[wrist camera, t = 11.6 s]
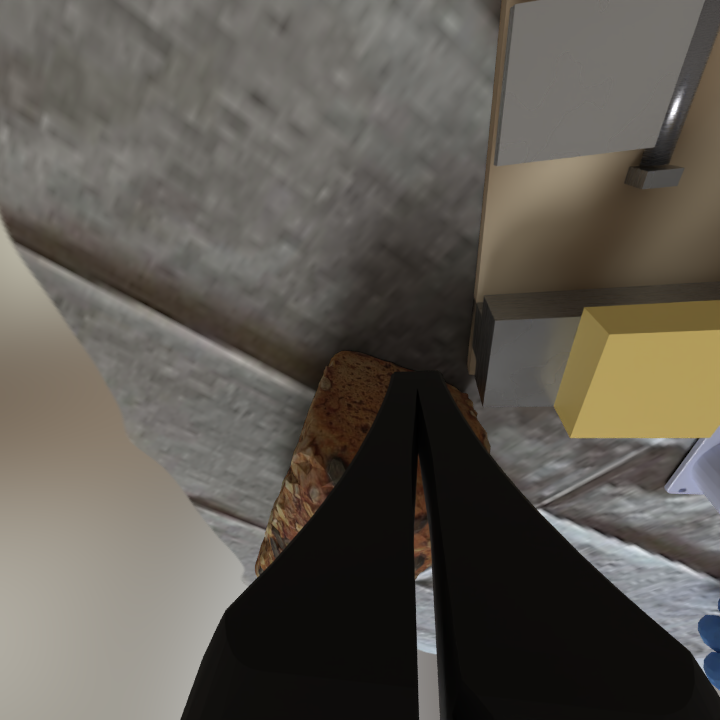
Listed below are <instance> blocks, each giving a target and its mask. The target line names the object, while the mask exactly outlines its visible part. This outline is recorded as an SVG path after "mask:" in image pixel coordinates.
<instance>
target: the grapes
mask: <svg viewBox="0 0 720 720" xmlns="http://www.w3.org/2000/svg"><path fill="white" fill-rule="evenodd" d="M718 609H719V611H720V599H719V601H718ZM698 631H699V633H700V636H701V637H702V639H703V641H704V643H705V644H706V645H708V646H709V647H710V648H712V649H713V650H714V651H716V652H711V653H710V654H708V655H707V656H706V658H705V659H704V667H703V668H704V670H705V673H706V675H707V677H708V679H709V681H710V683H711V684H712V685H714V686H715V687H716V688H717V689H719V690H720V617H719V616H716V615H705V616H704V617H703V618H701V619H700V621H699V622H698Z"/></svg>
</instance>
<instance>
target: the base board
mask: <svg viewBox="0 0 720 720" xmlns="http://www.w3.org/2000/svg"><path fill="white" fill-rule="evenodd" d="M531 1H537V0H502V3H501V14H500V25H499V35H498V46H497V56H496V67H495V77H494V88H493V98H492V109H491V120H490V130H489V141H488V151H487V162H486V172H485V183H484V194H483V204H482V215H481V225H480V236H479V246H478V257H477V267H476V278H475V289H474V298H475V300H476V302H475V303H477V302H483V298H484V295H496V294H513V293H530V292H547V291H564V290H581V289H598V288H615V287H632V286H649V285H666V284H683V283H700V282H717V281H720V30H719V33H718V35H717V38H716V41H715V43H714V46H713V49H712V51H711V54H710V57H709V59H708V62H707V65H706V67H705V70H704V73H703V75H702V78H701V81H700V83H699V86H698V89H697V91H696V94H695V97H694V99H693V102H692V105H691V107H690V110H689V113H688V115H687V118H686V121H685V123H684V126H683V129H682V131H681V134H680V136H679V139H678V142H677V144H676V147H675V150H674V152H673V155H672V158H671V160H670V163H669V165H674V166H679V167H683V168H684V171H683V173H682V176H681V178H680V181H679V183H678V186H672V187H662V188H651V189H639V188H636V187H633V186H630V185H627V184H624V181H625V178H626V175H627V172H628V169H629V167H632V166H641V165H640V162H641V159H642V156H643V153H644V150H645V148H644V149H636V150H628V151H620V152H611V153H603V154H595V155H587V156H578V157H570V158H562V159H554V160H545V161H537V162H529V163H521V164H512V165H504V166H495V165H494V156H495V146H496V137H497V128H498V118H499V109H500V99H501V90H502V80H503V71H504V62H505V52H506V43H507V33H508V24H509V14H510V8H511V7H512V6H514V5H515V4H519V3H525V2H531ZM475 306H476V304H475ZM474 310H475V312H476V307H475V309H474ZM475 312H474V313H475ZM474 313H473V321H472V322H473V323H472V324H473V325H472V328H471V330H472V331H470V333H471V334H470V335H471V336H470V340H471V341H469V352H468V363H467V368H468V372H469V375H475V369H476V358H475V355H474V351H473V348H472V344H471V343H472V342H473V332H474V322H475V315H474Z"/></svg>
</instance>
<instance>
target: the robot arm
mask: <svg viewBox="0 0 720 720" xmlns="http://www.w3.org/2000/svg"><path fill="white" fill-rule="evenodd" d="M418 455H419V462H420V469H421V476H422V483H423V490H424V497H425V504H426V511H427V518H428V525H429V533H430V543H431V558H432V576H433V593H434V611H435V629H436V648H437V667H438V686H439V706H440V720H720V697H719V695H718V693H717V692H716V690H715V689H714V687H713V686H712V684H711V683H710V681H709V680H708V678H707V676H706V675H705V673H704V672H703V670H702V669H701V667H700V666H699V664H698V663H697V661H696V660H695V658H694V657H693V655H692V653H691V652H690V651H689V650H688V649H687V648H685V647H684V646H683V645H682V644H681V643H680V642H678V641H677V640H676V639H675V638H674V637H673V636H671V635H670V634H669V633H668V632H667V631H666V630H664V629H663V628H662V627H661V626H660V625H659V624H657V623H656V622H655V621H654V620H653V619H652V618H650V617H649V616H648V615H647V614H646V613H645V612H644V611H642V610H641V609H640V608H639V607H638V606H637V605H636V604H635V603H633V602H632V601H631V600H630V599H629V598H628V597H627V596H626V595H624V594H623V593H622V592H621V591H620V590H619V589H618V588H617V587H615V586H614V585H613V584H612V583H611V582H610V581H609V580H608V579H607V578H606V577H605V576H604V575H603V574H601V573H600V572H599V571H598V570H597V569H596V568H595V567H594V566H593V565H592V564H591V563H590V562H589V561H587V560H586V559H585V558H584V557H583V556H582V555H581V554H580V553H579V552H578V551H577V550H576V549H575V548H574V547H573V546H572V545H571V544H570V543H569V542H568V541H567V540H566V539H565V538H564V537H563V536H562V535H561V534H560V533H559V532H558V531H557V530H556V529H555V528H554V527H553V526H552V525H551V524H550V523H549V522H548V521H547V520H546V519H545V518H544V517H543V516H542V515H541V514H540V513H539V511H538V510H537V509H536V508H535V507H534V506H533V505H532V504H531V503H530V502H529V500H528V499H527V498H526V497H525V496H524V495H523V494H522V493H521V492H520V490H519V489H518V488H517V487H516V486H515V485H514V483H513V482H512V481H511V480H510V479H509V478H508V476H507V475H506V474H505V473H504V472H503V470H502V469H501V468H500V467H499V465H498V464H497V463H496V461H495V460H494V459H493V458H492V456H491V455H490V454H489V452H488V451H487V450H486V448H485V447H484V445H483V444H482V443H481V441H480V440H479V439H478V437H477V436H476V434H475V433H474V431H473V430H472V428H471V427H470V425H469V424H468V422H467V420H466V419H465V417H464V416H463V414H462V413H461V411H460V409H459V408H458V406H457V404H456V402H455V401H454V399H453V397H452V395H451V393H450V391H449V389H448V387H447V385H446V383H445V381H444V379H443V376H442V374H441V373H440V372H439V371H406V372H394V373H393V374H392V375H391V378H390V382H389V386H388V389H387V392H386V395H385V397H384V400H383V402H382V405H381V407H380V409H379V411H378V413H377V415H376V418H375V420H374V422H373V424H372V426H371V428H370V430H369V432H368V433H367V435H366V437H365V439H364V441H363V442H362V444H361V446H360V448H359V450H358V451H357V453H356V455H355V456H354V458H353V460H352V461H351V463H350V464H349V466H348V468H347V469H346V471H345V472H344V474H343V475H342V477H341V478H340V480H339V481H338V482H337V484H336V485H335V487H334V488H333V489H332V491H331V492H330V493H329V495H328V496H327V497H326V499H325V500H324V502H323V503H322V504H321V506H320V507H319V508H318V509H317V511H316V512H315V513H314V514H313V516H312V517H311V518H310V519H309V521H308V522H307V523H306V524H305V525H304V527H303V528H302V529H301V530H300V531H299V532H298V533H297V535H296V536H295V537H294V538H293V539H292V540H291V542H290V543H289V544H288V545H287V546H286V547H285V549H284V550H283V551H282V552H281V553H280V554H279V555H278V557H277V558H276V559H275V560H274V561H273V562H272V563H271V564H270V565H269V566H268V567H267V568H266V569H265V570H264V571H263V572H262V573H261V574H260V575H259V576H258V578H257V579H256V580H255V581H254V582H253V583H252V584H251V585H250V586H249V587H248V588H247V589H246V590H245V591H244V592H243V593H242V594H241V595H240V596H239V597H238V598H237V599H236V600H235V601H234V602H233V603H232V604H231V605H230V606H229V607H228V608H227V610H226V611H225V613H224V615H223V616H222V619H221V620H220V623H219V624H218V626H217V629H216V631H215V633H214V635H213V637H212V639H211V642H210V644H209V646H208V648H207V650H206V652H205V654H204V656H203V659H202V662H201V664H200V667H199V670H198V673H197V675H196V678H195V681H194V684H193V687H192V689H191V692H190V695H189V697H188V700H187V703H186V706H185V708H184V712H183V714H182V717H181V720H419V703H418V669H417V668H418V667H417V632H416V597H415V562H414V522H415V504H416V486H417V467H418ZM664 488H665V489H666V491H667V492H668V493H672V494H704V495H705V496H706V497H707V499H708V500H709V501H710V502H711V504H712V505H713V506H714V507H715V509H716V510H717V511H718V513H719V514H720V425H719V427H718V428H717V429H716V431H715V432H714V433H713V435H712V436H711V437H710V438H699V440H698V441H697V442H696V444H695V445H694V447H693V448H692V449H691V451H690V452H689V453H688V455H687V456H686V458H685V459H684V460H683V462H682V463H681V464H680V466H679V467H678V469H677V470H676V471H675V473H674V474H673V475H672V477H671V478H670V479H669V481H668V482H667V484H666V485H665V487H664Z"/></svg>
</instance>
